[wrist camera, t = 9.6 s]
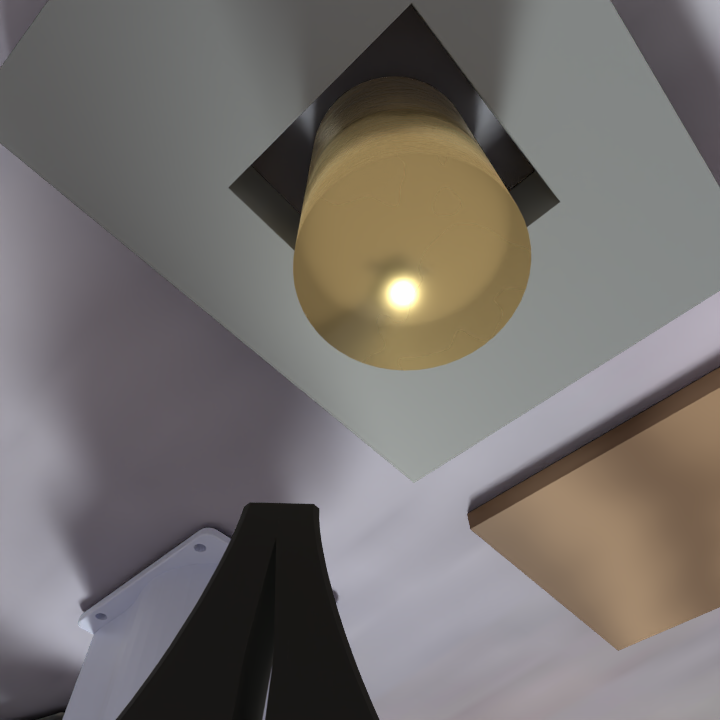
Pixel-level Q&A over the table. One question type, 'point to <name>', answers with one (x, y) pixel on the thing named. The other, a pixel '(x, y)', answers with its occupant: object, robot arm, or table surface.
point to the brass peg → (406, 231)
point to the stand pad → (624, 520)
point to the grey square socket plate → (281, 221)
